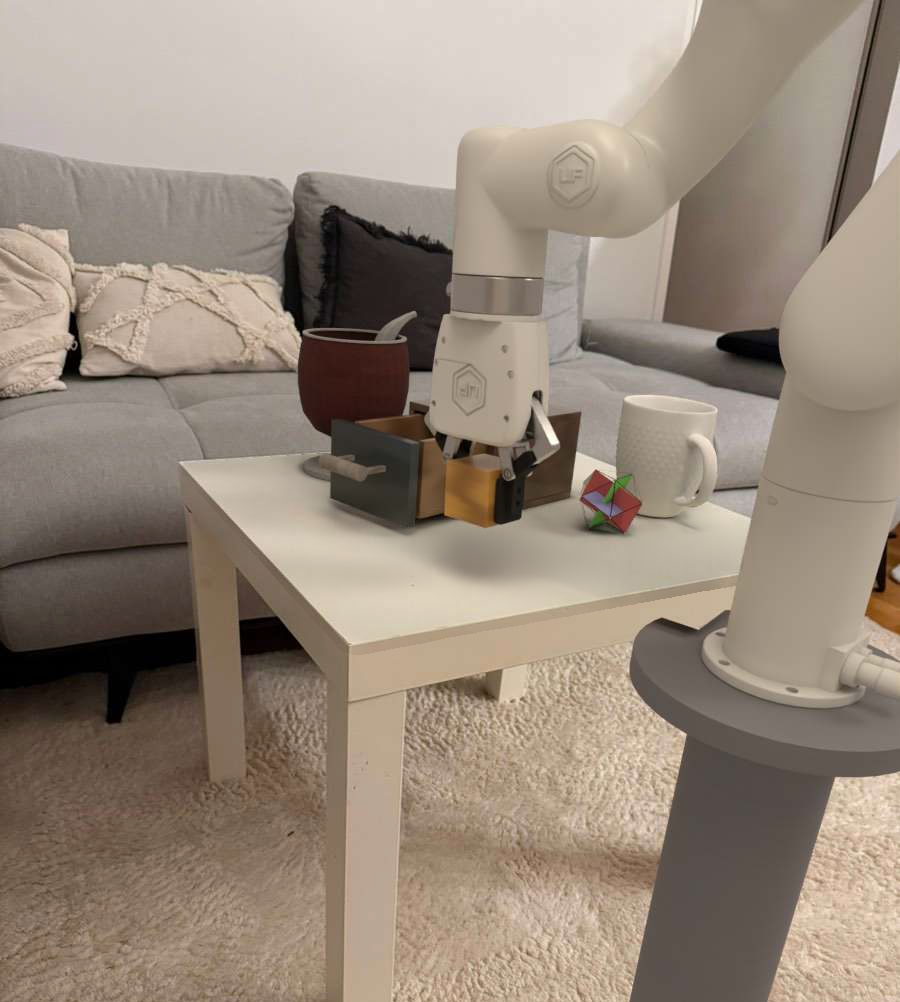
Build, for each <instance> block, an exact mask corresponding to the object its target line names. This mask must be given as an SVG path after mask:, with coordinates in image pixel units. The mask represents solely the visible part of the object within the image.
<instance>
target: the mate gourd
mask: <svg viewBox="0 0 900 1002" xmlns="http://www.w3.org/2000/svg"><path fill="white" fill-rule="evenodd" d="M417 317H418V314H417V312H416V311H415V310H413V311H410V312H407V313H405V314H403V315H401V316H399V317H397V318H395V319H393V320H391V321H389V322H388V323H387V324H385V325H384V326H383V327H382V328H381V329H380V330H373V329H372V330H371V329H361V328H343V327H342V328H340V327H338V328H337V327H319V328H309V329H304V330H302V338H301V340H300V341H301V342H300V347H299V353H298V360H297V387H298V394H299V401H300V404H301V409H302V412H303V414H304V416H305V417H306V418H307V420H308V422H309V423H310V424H311V425H312V427H313V428H314V430H315V431H316V432H319V433H321V434H323V435H325V436H327V437H330V438H331V428H332V420H334V419H342V420H346V421H349V422H352V423H355V421H361V420H369V419H378V418H386V417H394V416H403V415H404V412H405V409H406V406H407V400H408V394H409V389H410V373H411V372H410V371H411V370H410V369H411V368H410V356H409V348H408V343H407V341H408V338H407V336H404V335H401V334H399V333H400V331H401V330H402V328H403V327H404V326H405V325H406V324H407V323H408V322H409V321H411V320H412V319H416V318H417ZM329 454H330V455H331V453H329ZM321 455H322V454H321ZM321 455H316V456H312V457H310V458H308V459H306V460H304V462H303V470H304V472H305V473H306V474H308V475H310V476H311V477H314V478H318V479H321V480H325V481H330V479H331V471H329V470H326V469H323V468H321V467H320V466H319V458H320V456H321Z"/></svg>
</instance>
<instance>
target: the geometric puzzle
mask: <svg viewBox="0 0 900 1002" xmlns="http://www.w3.org/2000/svg"><path fill="white" fill-rule="evenodd" d="M601 471H603V472H601ZM604 471H605V469H603V470H602V469H601V470H599V469H597V468H595V469H594V470H593V472H592V473H590V474H589V475H588V476H587V478H586V479H585V480H584V481H583V482H582V486H581V491H580V495H579V498H578V501H579V502H580V503H579V504H580V506H581V508H582V509H581V510H582V511H581V512H582V514H583V515H584V516H583V517H584V519H587V517H586V515H585V514H586V512H585V510H584V509H585V507H584V505H585V506H586V507H587V508H588V509H589V510H591V512H593V513H594V514H595V515H594V517H593V519H592V520H591V522H590V524H589V526H588V522H587V520H584V522H585V526H586V530H587V531H589V530H592V531H593V530H594V529H592V528H595V527H597V526H600V525H602V524H607V525H609V526H611V527H612V528H614V529H616V530H617V532H616V531H614V533H615V534H616V533H617V534H619V532H620V533H621V534H624V535H626V532H627V531H628V530H629V527H630V526H631V524H632V522H633V521H634V519H635V518H636V516H637V515H638V514H637V512H638V511H639V509H640V507H641V506H642V504H643V503H642V502H641V501H642V500H641V501H640V500H638V499H637V498H636V497H637V495H636V497H635V496H634V495H633V494H632V493H630V492H629V491H628V490H627V489H626V488H625V487H626V485H627V483H628V482H629V480H630V478H631V476H632V475H633V474H634V473H632V474H630V473H629V474H630V475H627V476H624V477H621V478H619V479H617V478H614V477H611V476H610V475H608V474H606V473H604ZM610 472H613V473H614V471H611V470H610ZM620 473H621V472H620ZM633 476H634V475H633ZM608 477H609V478H608ZM610 478H611V479H612V480H611V479H610ZM633 479H635V478H634V477H633ZM634 485H635V483H634ZM624 489H626V490H627V491H628V492H629V493H630V494H631V495H630V494H629V493H627V492H626V491H625V490H624ZM635 491H636V489H635ZM632 495H633V496H634V497H635V498H634V497H633V496H632ZM639 495H640V494H639ZM640 498H641V497H640ZM581 503H582V504H581ZM598 531H601V532H602V530H601V529H598ZM618 531H619V532H618ZM606 532H608V533H610V531H609V530H606Z"/></svg>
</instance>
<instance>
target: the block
mask: <svg viewBox="0 0 900 1002" xmlns="http://www.w3.org/2000/svg"><path fill="white" fill-rule="evenodd" d="M500 478H503V477H502V472H501V465H500V458H499V457H496V456H492V455H488V454H479V455H474V456H469V457H464V458H458V459H453V460H448V461H447V465H446V487H445V510H444V513H443V514H444V516H445V517H449V518H453V519H456V520H459V521H461V522H464V523H468V524H471V525H474V526H477V527H481V528H484V529H488V528H491V527H494V526H498V525H499V524H496V523H495V522H494V506H495V491H496V482H497V479H500ZM522 517H523V516H522ZM522 517H521V518H520V519H522Z"/></svg>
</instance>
